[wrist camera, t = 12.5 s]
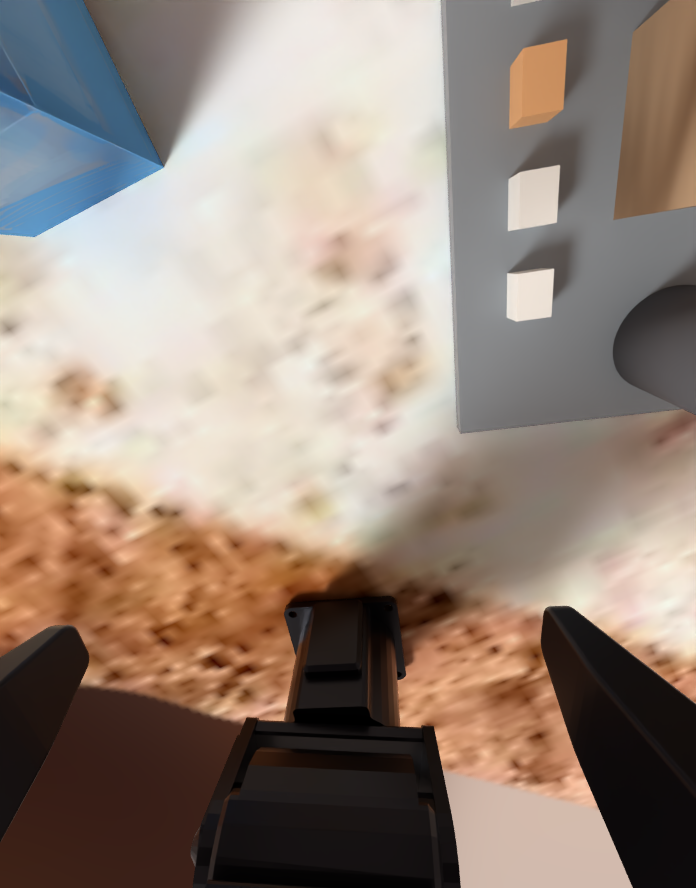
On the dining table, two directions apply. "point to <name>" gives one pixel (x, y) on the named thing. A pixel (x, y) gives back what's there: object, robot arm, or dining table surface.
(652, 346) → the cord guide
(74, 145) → the perfume bottle
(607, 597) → the dining table surface
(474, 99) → the panel
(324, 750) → the robot arm
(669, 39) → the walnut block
